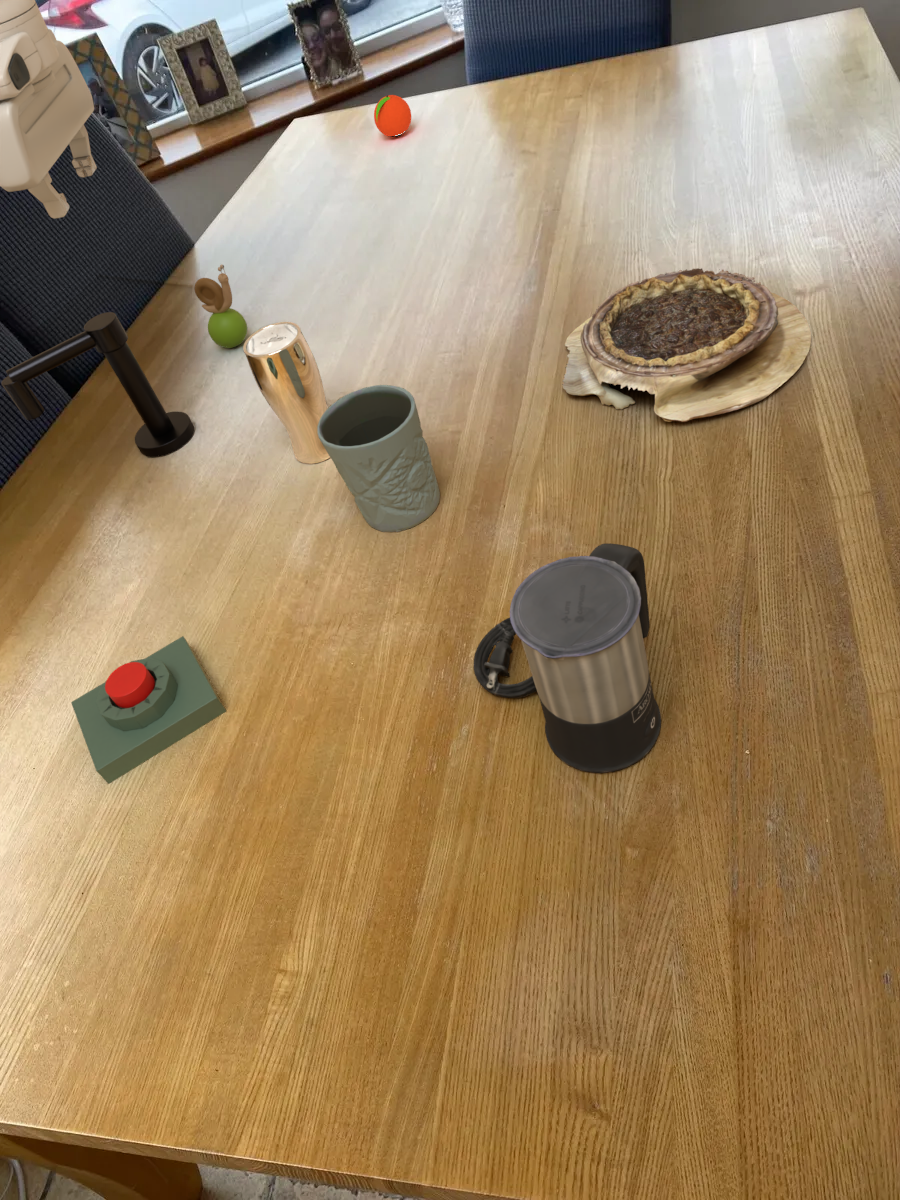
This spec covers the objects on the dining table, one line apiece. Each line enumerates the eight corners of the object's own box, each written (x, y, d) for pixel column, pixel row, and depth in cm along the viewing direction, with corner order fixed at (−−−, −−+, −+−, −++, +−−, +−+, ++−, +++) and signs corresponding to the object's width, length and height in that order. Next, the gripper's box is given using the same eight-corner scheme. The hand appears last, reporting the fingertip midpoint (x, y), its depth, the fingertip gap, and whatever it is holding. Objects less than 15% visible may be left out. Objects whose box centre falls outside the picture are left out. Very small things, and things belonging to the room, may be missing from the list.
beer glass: (316, 424, 115) (270, 317, 105) (358, 435, 112) (314, 324, 101) (280, 460, 112) (228, 352, 102) (321, 471, 108) (272, 361, 98)
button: (120, 715, 84) (110, 704, 83) (109, 689, 87) (99, 677, 86) (160, 691, 85) (151, 680, 84) (148, 666, 88) (139, 654, 87)
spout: (29, 425, 110) (-3, 380, 106) (22, 412, 113) (-9, 368, 109) (145, 365, 113) (119, 319, 109) (136, 353, 116) (110, 308, 112)
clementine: (399, 146, 172) (387, 106, 167) (369, 146, 175) (357, 107, 170) (422, 126, 176) (412, 86, 171) (393, 127, 179) (382, 88, 174)
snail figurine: (248, 354, 132) (212, 276, 124) (211, 356, 134) (173, 279, 126) (265, 332, 135) (231, 255, 127) (228, 334, 138) (192, 258, 129)
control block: (108, 784, 84) (85, 759, 81) (82, 715, 91) (60, 690, 88) (227, 711, 86) (208, 685, 84) (192, 649, 93) (174, 623, 90)
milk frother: (660, 777, 71) (639, 652, 60) (458, 775, 75) (407, 658, 65) (664, 633, 80) (646, 503, 70) (484, 638, 85) (443, 517, 74)
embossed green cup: (452, 521, 97) (421, 427, 88) (359, 549, 97) (319, 459, 89) (437, 463, 104) (407, 372, 95) (350, 490, 105) (313, 402, 96)
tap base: (149, 465, 119) (92, 372, 109) (133, 440, 124) (77, 349, 114) (202, 436, 120) (151, 341, 110) (184, 413, 125) (133, 320, 116)
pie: (576, 299, 120) (570, 263, 117) (805, 271, 111) (805, 232, 108) (547, 438, 102) (539, 400, 99) (817, 417, 94) (818, 375, 90)
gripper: (14, 21, 97) (78, 156, 107) (-67, 97, 83) (15, 244, 93) (70, 9, 96) (129, 147, 106) (-2, 84, 82) (73, 234, 92)
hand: (75, 193), depth 99 cm, fingers open, 8 cm apart
